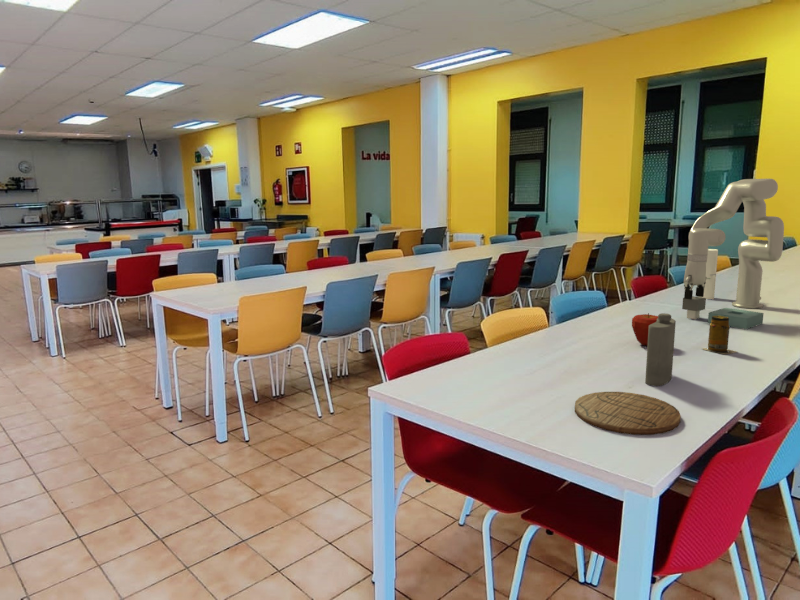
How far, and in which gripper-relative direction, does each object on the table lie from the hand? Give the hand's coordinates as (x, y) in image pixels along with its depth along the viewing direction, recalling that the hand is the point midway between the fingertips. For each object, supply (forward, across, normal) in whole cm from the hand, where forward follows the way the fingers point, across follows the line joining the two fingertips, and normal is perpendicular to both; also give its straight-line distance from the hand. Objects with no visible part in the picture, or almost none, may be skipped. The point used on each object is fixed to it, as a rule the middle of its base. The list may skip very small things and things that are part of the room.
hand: (693, 297), depth 244 cm
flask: (+11, +86, +34) cm, 93 cm away
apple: (+10, +54, +11) cm, 56 cm away
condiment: (+10, +42, +31) cm, 53 cm away
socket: (+9, -4, +16) cm, 19 cm away
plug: (+9, -1, 0) cm, 9 cm away
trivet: (+12, +118, +43) cm, 126 cm away
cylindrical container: (+8, -50, -18) cm, 53 cm away
